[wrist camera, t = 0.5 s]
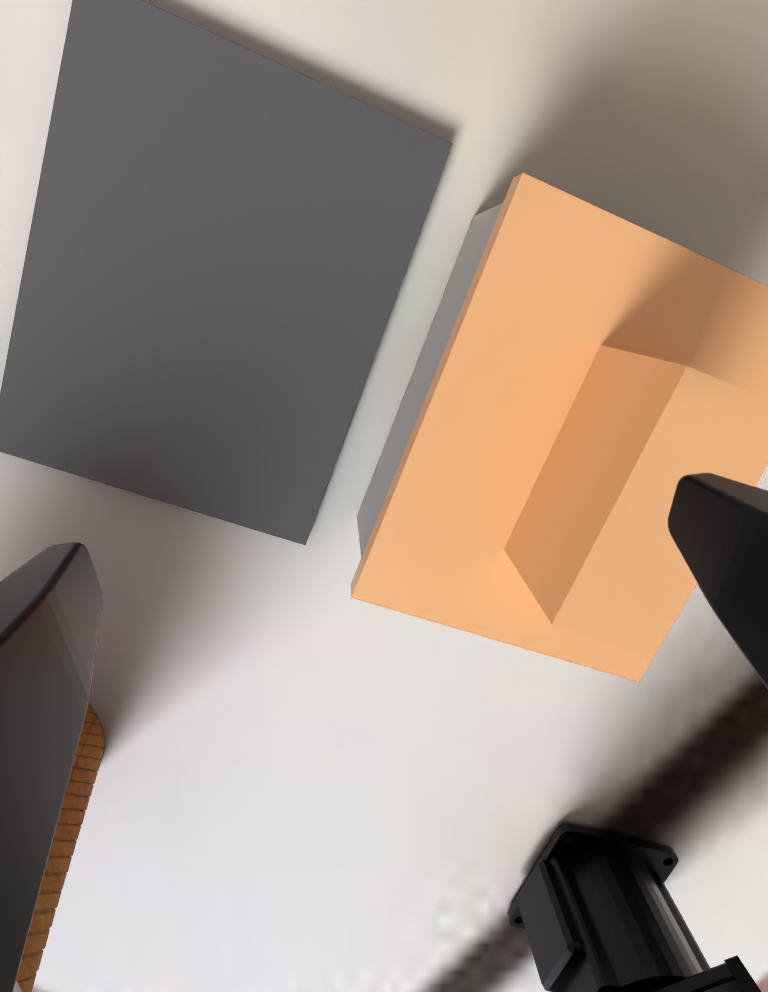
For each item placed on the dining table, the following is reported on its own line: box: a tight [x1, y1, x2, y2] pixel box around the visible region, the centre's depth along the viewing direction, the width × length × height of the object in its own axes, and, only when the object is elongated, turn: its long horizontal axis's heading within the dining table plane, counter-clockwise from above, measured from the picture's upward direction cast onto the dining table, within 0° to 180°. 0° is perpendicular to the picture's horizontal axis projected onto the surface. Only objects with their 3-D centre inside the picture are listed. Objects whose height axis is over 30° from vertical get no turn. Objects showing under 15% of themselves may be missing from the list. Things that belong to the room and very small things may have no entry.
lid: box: [351, 173, 768, 682], centre depth 15 cm, size 10×12×6 cm
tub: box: [357, 203, 503, 558], centre depth 20 cm, size 9×11×5 cm
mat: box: [0, 0, 452, 545], centre depth 20 cm, size 11×14×1 cm
